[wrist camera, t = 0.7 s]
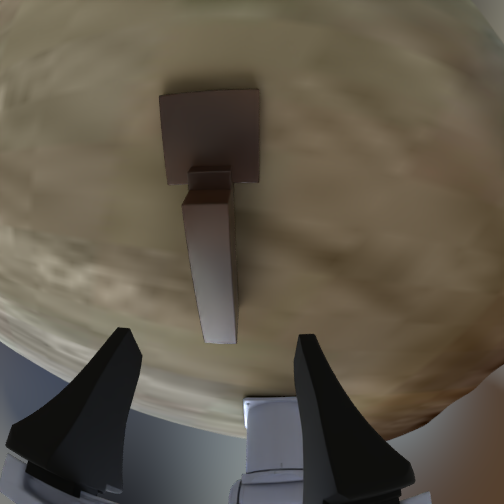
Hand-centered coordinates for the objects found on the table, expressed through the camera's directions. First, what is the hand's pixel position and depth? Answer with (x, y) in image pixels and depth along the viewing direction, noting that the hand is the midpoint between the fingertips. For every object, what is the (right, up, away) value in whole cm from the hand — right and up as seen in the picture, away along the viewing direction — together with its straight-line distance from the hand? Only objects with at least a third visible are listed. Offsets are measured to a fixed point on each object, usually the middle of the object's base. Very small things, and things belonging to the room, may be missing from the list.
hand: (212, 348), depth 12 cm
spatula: (0, +6, +5) cm, 8 cm away
